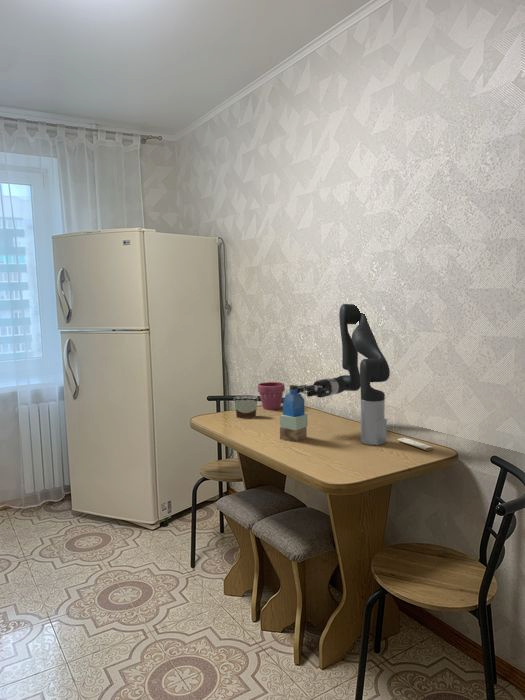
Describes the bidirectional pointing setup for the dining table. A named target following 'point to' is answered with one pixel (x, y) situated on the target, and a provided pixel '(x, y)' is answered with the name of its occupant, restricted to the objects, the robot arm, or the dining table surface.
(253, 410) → the food container
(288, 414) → the perfume bottle
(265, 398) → the plant pot
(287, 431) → the tower base block
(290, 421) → the tower top block
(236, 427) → the dining table surface
